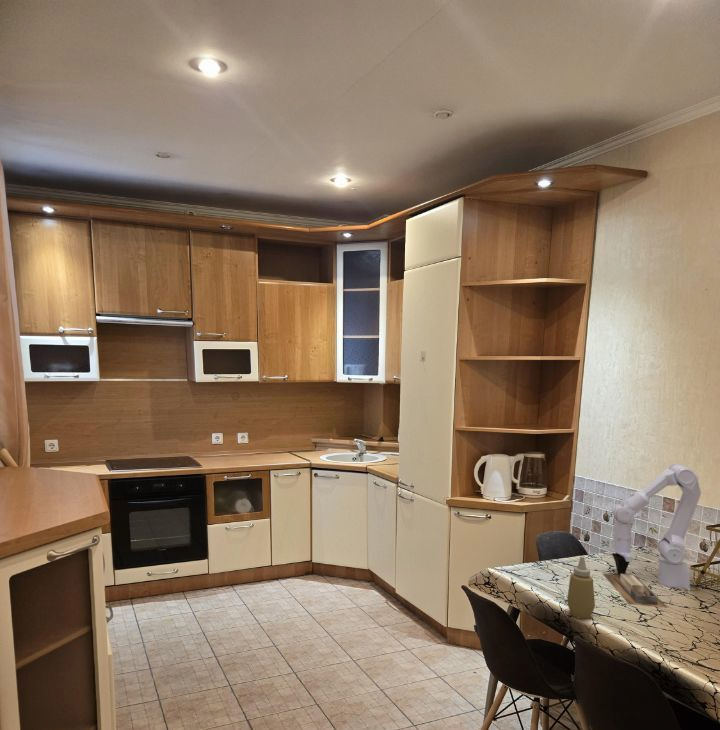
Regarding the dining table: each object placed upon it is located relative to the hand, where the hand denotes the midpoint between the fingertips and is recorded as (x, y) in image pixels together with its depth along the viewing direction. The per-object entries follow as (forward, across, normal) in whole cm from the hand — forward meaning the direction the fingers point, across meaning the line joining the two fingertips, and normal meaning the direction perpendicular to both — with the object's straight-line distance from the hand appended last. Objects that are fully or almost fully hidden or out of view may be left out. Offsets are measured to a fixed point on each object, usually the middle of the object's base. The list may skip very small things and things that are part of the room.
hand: (621, 574), depth 190 cm
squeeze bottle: (+2, +34, -24) cm, 42 cm away
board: (+2, +11, 0) cm, 11 cm away
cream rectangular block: (+1, +10, 0) cm, 10 cm away
